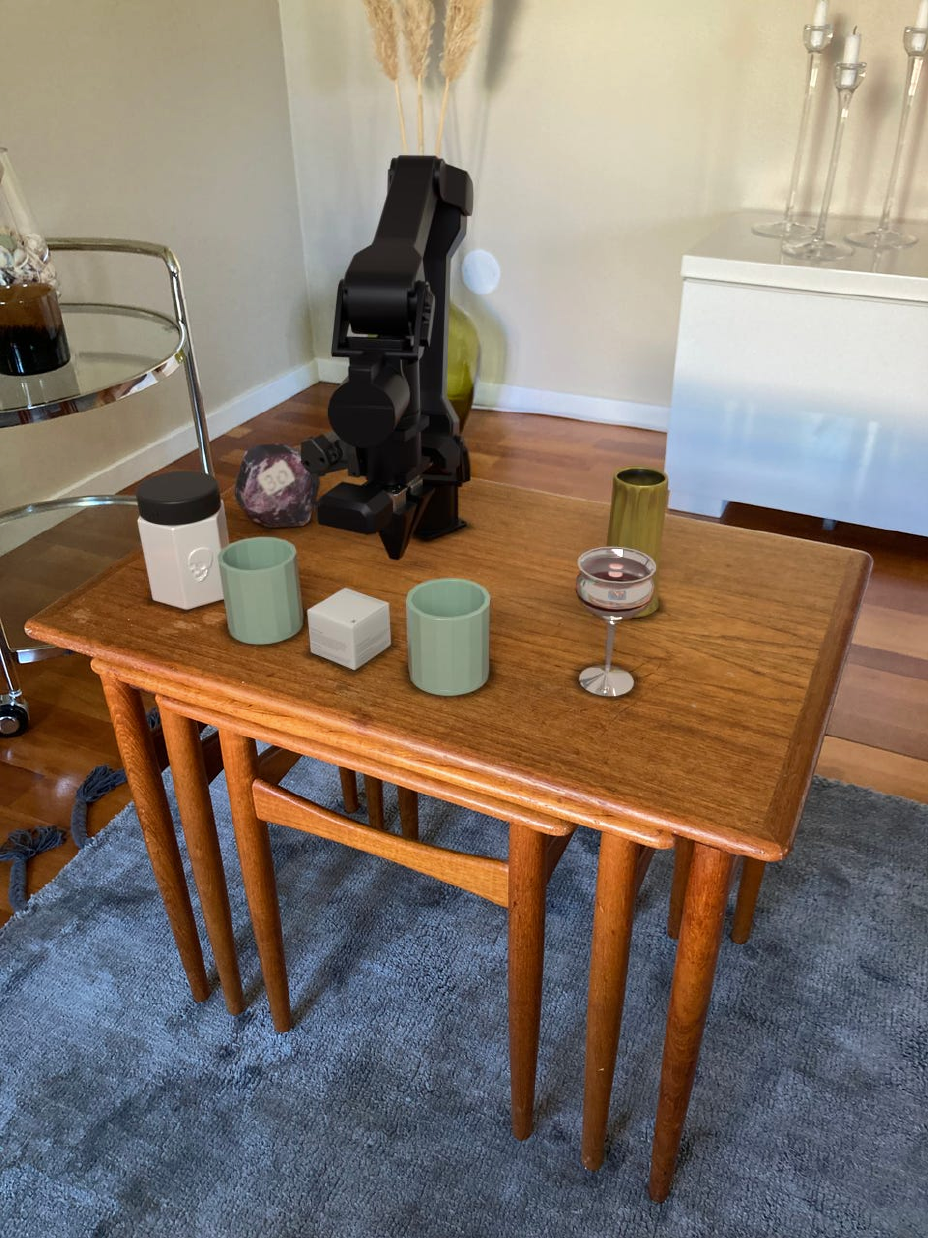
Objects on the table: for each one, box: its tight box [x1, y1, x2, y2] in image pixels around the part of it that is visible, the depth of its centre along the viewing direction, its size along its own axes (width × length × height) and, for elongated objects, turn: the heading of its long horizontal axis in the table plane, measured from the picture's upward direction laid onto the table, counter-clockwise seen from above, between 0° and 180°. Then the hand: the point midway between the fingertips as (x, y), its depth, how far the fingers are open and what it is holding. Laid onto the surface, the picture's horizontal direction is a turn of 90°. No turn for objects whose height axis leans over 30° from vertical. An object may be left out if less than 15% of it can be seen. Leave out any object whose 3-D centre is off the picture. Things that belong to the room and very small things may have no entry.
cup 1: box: [217, 536, 304, 645], centre depth 94 cm, size 7×7×8 cm
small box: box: [306, 587, 392, 671], centre depth 91 cm, size 6×6×5 cm
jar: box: [134, 470, 230, 611], centre depth 99 cm, size 9×8×12 cm
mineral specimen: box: [233, 443, 321, 529], centre depth 115 cm, size 10×10×10 cm
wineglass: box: [574, 546, 656, 697], centre depth 85 cm, size 7×7×12 cm
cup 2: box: [405, 577, 492, 697], centre depth 87 cm, size 7×7×8 cm
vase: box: [606, 465, 669, 619], centre depth 96 cm, size 6×6×14 cm
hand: (395, 558), depth 97 cm, fingers closed
